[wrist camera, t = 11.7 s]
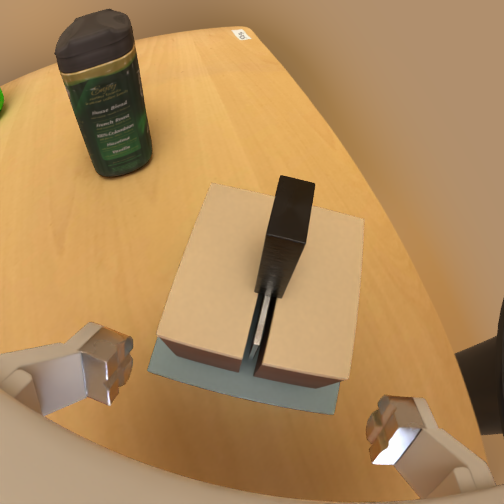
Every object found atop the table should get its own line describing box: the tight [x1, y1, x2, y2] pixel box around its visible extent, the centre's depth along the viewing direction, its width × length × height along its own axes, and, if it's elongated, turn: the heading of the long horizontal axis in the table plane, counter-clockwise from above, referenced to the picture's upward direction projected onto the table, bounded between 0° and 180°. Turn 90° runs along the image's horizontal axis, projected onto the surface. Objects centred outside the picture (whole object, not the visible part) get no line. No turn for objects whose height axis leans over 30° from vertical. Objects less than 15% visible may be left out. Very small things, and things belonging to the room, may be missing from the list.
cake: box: [147, 183, 364, 415], centre depth 25 cm, size 16×16×9 cm
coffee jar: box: [55, 9, 152, 177], centre depth 28 cm, size 10×8×19 cm
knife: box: [248, 175, 315, 360], centre depth 20 cm, size 10×2×13 cm, turn 167°
